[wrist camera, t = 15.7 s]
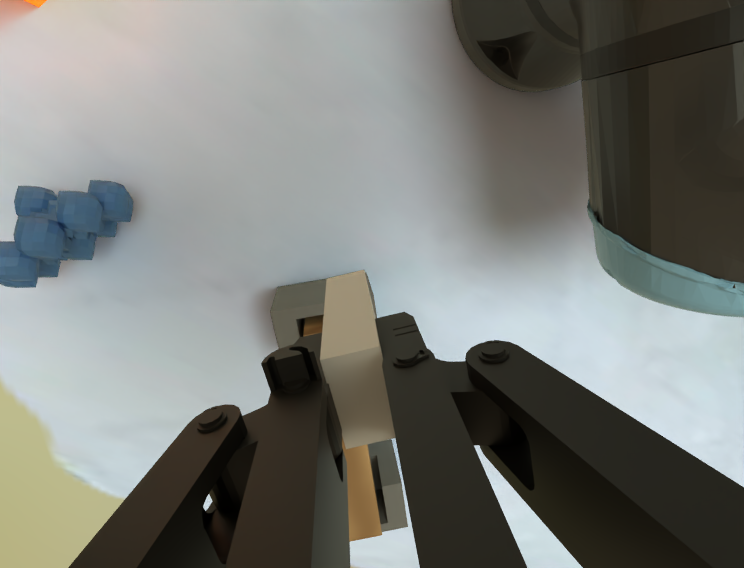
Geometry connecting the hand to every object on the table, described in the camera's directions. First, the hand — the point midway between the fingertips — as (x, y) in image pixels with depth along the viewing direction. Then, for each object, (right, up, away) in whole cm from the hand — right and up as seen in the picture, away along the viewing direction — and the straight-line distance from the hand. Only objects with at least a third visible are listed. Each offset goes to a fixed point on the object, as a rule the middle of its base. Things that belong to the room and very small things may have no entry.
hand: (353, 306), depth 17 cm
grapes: (-23, +7, +21) cm, 32 cm away
